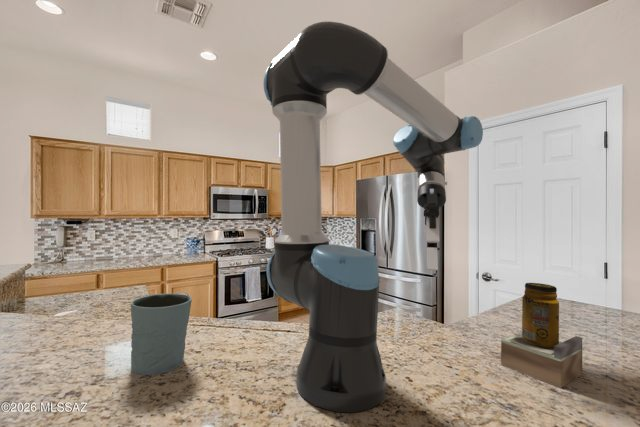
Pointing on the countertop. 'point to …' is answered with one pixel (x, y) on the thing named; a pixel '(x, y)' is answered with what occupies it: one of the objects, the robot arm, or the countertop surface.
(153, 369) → the grey textured cup
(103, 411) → the countertop surface
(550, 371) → the stand
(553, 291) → the condiment
